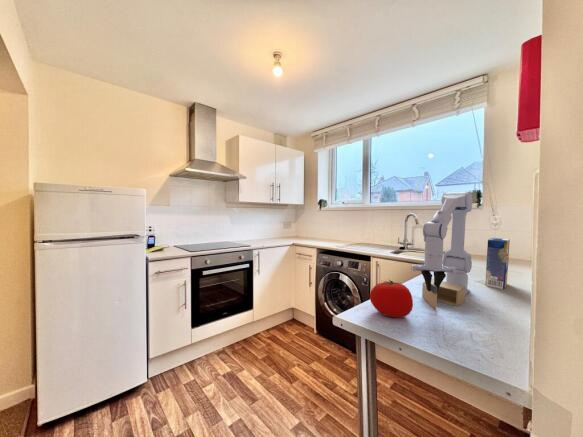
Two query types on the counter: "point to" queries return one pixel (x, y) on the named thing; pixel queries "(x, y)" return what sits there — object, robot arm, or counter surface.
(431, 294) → the carton flap
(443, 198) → the robot arm
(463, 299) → the carton
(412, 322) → the counter surface
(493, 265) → the beverage box
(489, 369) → the counter surface
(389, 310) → the tomato
